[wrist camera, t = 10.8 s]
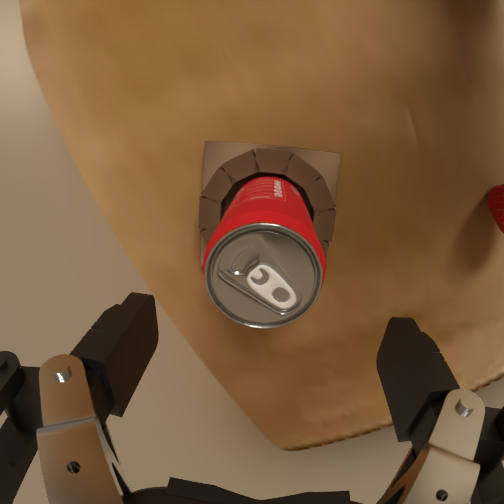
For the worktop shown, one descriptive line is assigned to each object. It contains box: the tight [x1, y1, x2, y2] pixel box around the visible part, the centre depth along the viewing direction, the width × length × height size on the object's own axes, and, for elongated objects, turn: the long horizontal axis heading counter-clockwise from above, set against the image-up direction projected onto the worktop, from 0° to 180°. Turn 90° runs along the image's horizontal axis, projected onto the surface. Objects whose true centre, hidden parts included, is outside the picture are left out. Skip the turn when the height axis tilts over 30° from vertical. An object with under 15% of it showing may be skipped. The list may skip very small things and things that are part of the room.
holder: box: [199, 141, 341, 266], centre depth 23 cm, size 10×10×3 cm
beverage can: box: [203, 176, 326, 329], centre depth 18 cm, size 5×5×12 cm
